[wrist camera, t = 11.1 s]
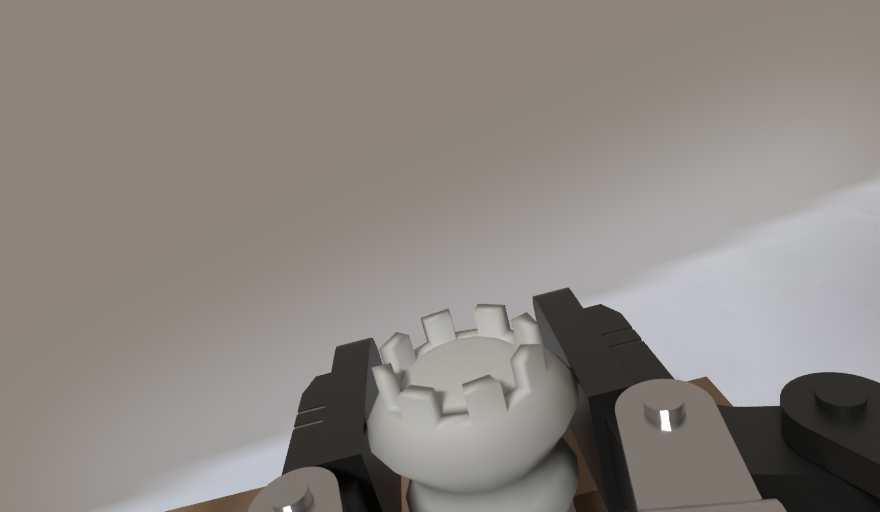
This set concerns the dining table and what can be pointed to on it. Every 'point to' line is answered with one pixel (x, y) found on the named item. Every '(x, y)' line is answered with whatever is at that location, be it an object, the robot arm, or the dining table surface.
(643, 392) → the robot arm
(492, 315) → the rook chess piece
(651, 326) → the dining table surface
